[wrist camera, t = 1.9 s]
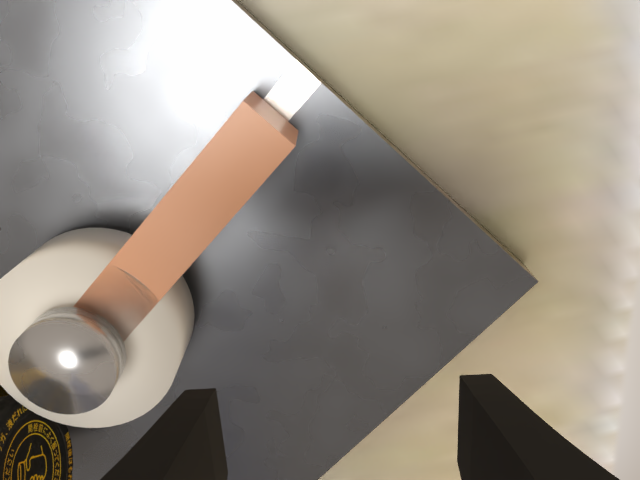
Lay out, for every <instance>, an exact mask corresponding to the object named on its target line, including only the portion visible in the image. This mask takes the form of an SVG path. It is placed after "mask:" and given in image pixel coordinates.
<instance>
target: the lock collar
mask: <svg viewBox="0 0 640 480" xmlns="http://www.w3.org/2000/svg"><path fill="white" fill-rule="evenodd" d="M297 136H298V130H297V129H296V128H295V127H294V126H293V125H292V124H290V123H289V122H288V121H287V120H286V119H285V118H284V117H282V116H281V115H280V114H279V113H278V112H277V111H276V110H274V109H273V108H272V107H271V106H270V105H269V104H268V103H267V102H265V101H264V100H263V99H262V98H261V97H260V96H259V95H257V94H256V93H255V92H254V91H252V92H251V93H250V94H249V95H248V96H247V97H246V98H245V99H244V100H243V101H242V103H241V104H240V105H239V106H238V108H237V109H236V110H235V111H234V112H233V114H232V115H231V116H230V117H229V118H228V120H227V121H226V122H225V123H224V124H223V126H222V127H221V128H220V129H219V131H218V132H217V133H216V134H215V135H214V137H213V138H212V139H211V140H210V141H209V143H208V144H207V145H206V146H205V148H204V149H203V150H202V151H201V152H200V154H199V155H198V156H197V157H196V158H195V160H194V161H193V162H192V163H191V164H190V166H189V167H188V168H187V169H186V171H185V172H184V173H183V174H182V175H181V177H180V178H179V179H178V180H177V181H176V183H175V184H174V185H173V186H172V187H171V189H170V190H169V191H168V192H167V194H166V195H165V196H164V197H163V198H162V200H161V201H160V202H159V203H158V204H157V206H156V207H155V208H154V209H153V211H152V212H151V213H150V214H149V215H148V217H147V218H146V219H145V220H144V221H143V223H142V224H141V225H140V226H139V227H138V229H137V230H136V231H135V232H134V234H133V235H132V234H129V233H127V232H123V231H119V230H115V229H108V228H82V229H76V230H72V231H68V232H65V233H62V234H60V235H58V236H55V237H54V238H52V239H50V240H49V241H47V242H46V243H44V244H43V245H42V246H41V247H39V248H38V249H37V250H36V251H34V252H33V253H32V254H31V255H29V256H28V257H27V258H26V259H24V260H23V261H22V262H21V263H19V264H18V265H17V266H16V267H14V268H13V269H12V270H11V271H9V272H8V273H7V274H6V275H5V276H3V277H2V278H1V279H0V385H1V386H2V387H3V388H4V389H5V390H6V392H7V393H8V394H10V395H11V396H12V397H13V398H14V399H15V400H16V401H17V402H19V403H20V404H22V405H23V406H24V407H26V408H27V409H29V410H31V411H32V412H34V413H36V414H38V415H40V416H42V417H44V418H47V419H49V420H52V421H55V422H58V423H61V424H65V425H70V426H74V427H84V428H102V427H111V426H115V425H120V424H123V423H126V422H129V421H132V420H134V419H136V418H138V417H140V416H142V415H144V414H145V413H147V412H148V411H150V410H151V409H152V408H153V407H155V406H156V405H157V404H158V403H159V402H160V401H161V400H162V398H163V397H164V396H165V395H166V393H167V392H168V390H169V388H170V387H171V385H172V383H173V380H174V378H175V375H176V373H177V370H178V368H179V366H180V363H181V361H182V358H183V356H184V353H185V351H186V348H187V346H188V343H189V341H190V338H191V336H192V331H193V327H194V304H193V300H192V296H191V293H190V290H189V287H188V285H187V283H186V281H185V279H184V277H183V274H184V272H185V271H186V270H187V269H188V268H189V267H190V266H191V265H192V263H193V262H194V261H195V260H196V259H197V258H198V257H199V255H200V254H201V253H202V252H203V251H204V250H205V249H206V247H207V246H208V245H209V244H210V243H211V242H212V241H213V240H214V238H215V237H216V236H217V235H218V234H219V233H220V232H221V230H222V229H223V228H224V227H225V226H226V225H227V224H228V222H229V221H230V220H231V219H232V218H233V217H234V216H235V214H236V213H237V212H238V211H239V210H240V209H241V208H242V207H243V205H244V204H245V203H246V202H247V201H248V200H249V199H250V197H251V196H252V195H253V194H254V193H255V192H256V191H257V189H258V188H259V187H260V186H261V185H262V184H263V183H264V182H265V180H266V179H267V178H268V177H269V176H270V175H271V174H272V172H273V171H274V170H275V169H276V168H277V167H278V166H279V164H280V163H281V162H282V161H283V160H284V159H285V158H286V156H287V155H288V154H289V153H290V152H291V151H292V150H293V149H294V147H295V146H296V141H297ZM60 307H77V308H82V309H86V310H89V311H92V312H94V313H96V314H98V315H100V316H101V317H103V318H105V319H106V320H107V321H108V322H110V323H111V324H112V325H113V326H114V327H115V329H116V330H117V331H118V333H119V334H120V336H121V338H122V340H123V342H124V345H125V349H126V364H125V368H124V371H123V373H122V375H121V376H120V378H119V380H118V382H117V383H116V385H115V387H114V389H113V391H112V392H111V394H110V396H109V397H108V398H107V400H106V401H105V402H104V403H103V404H101V405H100V406H99V407H97V408H95V409H93V410H91V411H88V412H85V413H81V414H73V415H72V414H59V413H54V412H51V411H47V410H45V409H43V408H40V407H39V406H37V405H35V404H33V403H32V402H31V401H29V400H28V399H27V398H26V397H25V396H23V395H22V393H21V392H20V391H19V390H18V389H17V387H16V386H15V384H14V382H13V380H12V378H11V375H10V372H9V366H8V359H9V353H10V349H11V347H12V345H13V343H14V342H15V341H16V339H17V338H18V337H19V336H20V335H21V334H22V333H23V332H24V331H25V330H26V329H27V328H28V327H29V326H30V325H31V323H32V322H33V321H34V320H35V319H36V318H37V317H39V316H40V315H41V314H43V313H45V312H47V311H49V310H52V309H55V308H60Z"/></svg>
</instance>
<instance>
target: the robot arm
mask: <svg viewBox="0 0 640 480" xmlns="http://www.w3.org/2000/svg"><path fill="white" fill-rule="evenodd" d="M457 462H458V466H459V471H460V475H461V479H462V480H619V479H618V478H617V477H615V476H614V475H612V474H611V473H610V472H608V471H607V470H606V469H604V468H603V467H602V466H600V465H599V464H597V463H596V462H595V461H593V460H592V459H591V458H589V457H588V456H587V455H585V454H584V453H583V452H581V451H580V450H579V449H578V448H576V447H575V446H574V445H573V444H571V443H570V442H569V441H568V440H566V439H565V438H564V437H563V436H561V435H560V434H559V433H558V432H557V431H555V430H554V429H553V428H552V427H551V426H549V425H548V424H547V423H546V422H545V421H544V420H542V419H541V418H540V417H539V416H538V415H537V414H536V413H534V412H533V411H532V410H531V409H530V408H529V407H528V406H527V405H525V404H524V403H523V402H522V401H521V400H520V399H519V398H518V397H517V396H515V395H514V394H513V393H512V392H511V391H510V390H509V389H508V388H507V387H506V386H504V385H503V384H502V383H501V382H500V381H499V380H498V379H497V378H496V377H494V376H493V375H492V374H481V375H461V376H460V385H459V420H458V456H457ZM227 477H228V468H227V461H226V454H225V447H224V440H223V433H222V426H221V419H220V412H219V405H218V398H217V391H216V388H209V389H189V390H184V392H183V393H182V394H181V395H180V396H179V397H178V398H177V399H176V400H175V401H174V402H173V403H172V404H171V405H170V407H169V408H168V409H167V410H166V411H165V412H164V413H163V414H162V415H161V417H160V418H159V419H158V420H157V421H156V422H155V423H154V424H153V425H152V427H151V428H150V429H149V430H148V431H147V432H146V433H145V434H144V435H143V436H142V437H141V439H140V440H139V441H138V442H137V443H136V444H135V445H134V446H133V447H132V448H131V449H130V450H129V451H128V452H127V453H126V454H125V455H124V456H123V458H122V459H121V460H120V461H119V462H118V463H117V464H116V465H115V466H114V467H113V468H112V469H110V470H109V471H108V472H107V473H106V474H105V475H104V476H103V477H102V478H101V479H100V480H227Z"/></svg>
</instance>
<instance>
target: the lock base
mask: <svg viewBox="0 0 640 480" xmlns="http://www.w3.org/2000/svg"><path fill="white" fill-rule="evenodd" d="M252 91H254V92H255V93H256V94H257V95H259V96H260V97H261V98H262V99H263V100H264V101H265V102H267V103H268V104H269V105H270V106H271V107H272V108H273V109H274V110H276V111H277V112H278V113H279V114H280V115H281V116H282V117H284V118H285V119H286V120H287V121H288V122H289V123H290V124H292V125H293V126H294V127H295V128H296V129H297V130H298V136H297V141H296V146H295V147H294V149H293V150H292V151H291V152H290V153H289V154H288V155H287V156H286V158H285V159H284V160H283V161H282V162H281V163H280V164H279V166H278V167H277V168H276V169H275V170H274V171H273V172H272V174H271V175H270V176H269V177H268V178H267V179H266V180H265V182H264V183H263V184H262V185H261V186H260V187H259V188H258V189H257V191H256V192H255V193H254V194H253V195H252V196H251V197H250V199H249V200H248V201H247V202H246V203H245V204H244V205H243V207H242V208H241V209H240V210H239V211H238V212H237V213H236V214H235V216H234V217H233V218H232V219H231V220H230V221H229V222H228V224H227V225H226V226H225V227H224V228H223V229H222V230H221V232H220V233H219V234H218V235H217V236H216V237H215V238H214V240H213V241H212V242H211V243H210V244H209V245H208V246H207V247H206V249H205V250H204V251H203V252H202V253H201V254H200V255H199V257H198V258H197V259H196V260H195V261H194V262H193V263H192V265H191V266H190V267H189V268H188V269H187V270H186V271H185V272H184V274H183V277H184V279H185V281H186V283H187V285H188V287H189V290H190V293H191V296H192V300H193V304H194V327H193V331H192V336H191V338H190V341H189V343H188V346H187V348H186V351H185V353H184V356H183V358H182V361H181V363H180V366H179V368H178V370H177V373H176V375H175V378H174V380H173V383H172V385H171V387H170V388H169V390H168V392H167V393H166V395H165V396H164V397H163V398H162V400H161V401H160V402H159V403H158V404H157V405H156V406H155V407H153V408H152V409H151V410H150V411H148V412H147V413H145V414H144V415H142V416H140V417H138V418H136V419H134V420H132V421H129V422H126V423H123V424H120V425H115V426H111V427H102V428H84V427H74V426H70V425H67V427H68V430H69V434H70V438H71V443H72V454H73V468H72V480H100V479H101V478H102V477H103V476H104V475H105V474H106V473H107V472H108V471H109V470H110V469H112V468H113V467H114V466H115V465H116V464H117V463H118V462H119V461H120V460H121V459H122V458H123V456H124V455H125V454H126V453H127V452H128V451H129V450H130V449H131V448H132V447H133V446H134V445H135V444H136V443H137V442H138V441H139V440H140V439H141V437H142V436H143V435H144V434H145V433H146V432H147V431H148V430H149V429H150V428H151V427H152V425H153V424H154V423H155V422H156V421H157V420H158V419H159V418H160V417H161V415H162V414H163V413H164V412H165V411H166V410H167V409H168V408H169V407H170V405H171V404H172V403H173V402H174V401H175V400H176V399H177V398H178V397H179V396H180V395H181V394H182V393H183V392H184V390H189V389H209V388H216V391H217V398H218V405H219V412H220V419H221V426H222V433H223V440H224V447H225V454H226V461H227V468H228V477H227V480H318V479H319V478H320V477H321V476H322V475H323V474H324V473H326V472H327V471H328V470H329V469H330V468H331V467H332V466H333V465H335V464H336V463H337V462H338V461H339V460H340V459H341V458H342V457H343V456H345V455H346V454H347V453H348V452H349V451H350V450H351V449H352V448H353V447H355V446H356V445H357V444H358V443H359V442H360V441H361V440H362V439H363V438H365V437H366V436H367V435H368V434H369V433H370V432H371V431H372V430H374V429H375V428H376V427H377V426H378V425H379V424H380V423H381V422H382V421H384V420H385V419H386V418H387V417H388V416H389V415H390V414H391V413H392V412H394V411H395V410H396V409H397V408H398V407H399V406H400V405H401V404H403V403H404V402H405V401H406V400H407V399H408V398H409V397H410V396H411V395H413V394H414V393H415V392H416V391H417V390H418V389H419V388H420V387H421V386H423V385H424V384H425V383H426V382H427V381H428V380H429V379H430V378H432V377H433V376H434V375H435V374H436V373H437V372H438V371H439V370H440V369H442V368H443V367H444V366H445V365H446V364H447V363H448V362H449V361H450V360H452V359H453V358H454V357H455V356H456V355H457V354H458V353H459V352H461V351H462V350H463V349H464V348H465V347H466V346H467V345H468V344H469V343H471V342H472V341H473V340H474V339H475V338H476V337H477V336H478V335H479V334H481V333H482V332H483V331H484V330H485V329H486V328H487V327H488V326H489V325H491V324H492V323H493V322H494V321H495V320H496V319H497V318H498V317H500V316H501V315H502V314H503V313H504V312H505V311H506V310H507V309H508V308H510V307H511V306H512V305H513V304H514V303H515V302H516V301H517V300H518V299H520V298H521V297H522V296H523V295H524V294H525V293H526V292H527V291H529V290H530V289H531V288H532V287H533V286H534V285H535V284H536V283H537V282H538V281H537V279H536V278H535V277H534V276H533V275H532V274H531V272H530V271H529V270H528V269H527V268H526V266H525V265H524V264H523V263H522V262H521V261H519V260H518V259H517V258H516V257H515V256H514V255H513V254H512V253H511V252H510V251H509V250H507V249H506V248H505V247H504V246H503V245H502V244H501V243H500V242H499V241H498V240H497V239H496V238H494V237H493V236H492V235H491V234H490V233H489V232H488V231H487V230H486V229H485V228H484V227H482V226H481V225H480V224H479V223H478V222H477V221H476V220H475V219H474V218H473V217H472V216H470V215H469V214H468V213H467V212H466V211H465V210H464V209H463V208H462V207H461V206H460V205H458V204H457V203H456V202H455V201H454V200H453V199H452V198H451V197H450V196H449V195H448V194H447V193H445V192H444V191H443V190H442V189H441V188H440V187H439V186H438V185H437V184H436V183H435V182H433V181H432V180H431V179H430V178H429V177H428V176H427V175H426V174H425V173H424V172H423V171H421V170H420V169H419V168H418V167H417V166H416V165H415V164H414V163H413V162H412V161H411V160H410V159H408V158H407V157H406V156H405V155H404V154H403V153H402V152H401V151H400V150H399V149H398V148H396V147H395V146H394V145H393V144H392V143H391V142H390V141H389V140H388V139H387V138H386V137H384V136H383V135H382V134H381V133H380V132H379V131H378V130H377V129H376V128H375V127H374V126H373V125H371V124H370V123H369V122H368V121H367V120H366V119H365V118H364V117H363V116H362V115H361V114H359V113H358V112H357V111H356V110H355V109H354V108H353V107H352V106H351V105H350V104H349V103H347V102H346V101H345V100H344V99H343V98H342V97H341V96H340V95H339V94H338V93H337V92H335V91H334V90H333V89H332V88H331V87H330V86H329V85H328V84H327V83H326V82H325V81H324V80H322V79H321V78H320V77H319V76H318V75H317V74H316V73H315V72H314V71H313V70H312V69H310V68H309V67H308V66H307V65H306V64H305V63H304V62H303V61H302V60H301V59H300V58H298V57H297V56H296V55H295V54H294V53H293V52H292V51H291V50H290V49H289V48H288V47H287V46H285V45H284V44H283V43H282V42H281V41H280V40H279V39H278V38H277V37H276V36H275V35H273V34H272V33H271V32H270V31H269V30H268V29H267V28H266V27H265V26H264V25H263V24H261V23H260V22H259V21H258V20H257V19H256V18H255V17H254V16H253V15H252V14H251V13H250V12H248V11H247V10H246V9H245V8H244V7H243V6H242V5H241V4H240V3H239V2H238V1H236V0H0V279H1V278H2V277H3V276H5V275H6V274H7V273H8V272H9V271H11V270H12V269H13V268H14V267H16V266H17V265H18V264H19V263H21V262H22V261H23V260H24V259H26V258H27V257H28V256H29V255H31V254H32V253H33V252H34V251H36V250H37V249H38V248H39V247H41V246H42V245H43V244H44V243H46V242H47V241H49V240H50V239H52V238H54V237H55V236H58V235H60V234H62V233H65V232H68V231H72V230H76V229H82V228H108V229H115V230H119V231H123V232H127V233H129V234H132V235H133V234H134V232H135V231H136V230H137V229H138V227H139V226H140V225H141V224H142V223H143V221H144V220H145V219H146V218H147V217H148V215H149V214H150V213H151V212H152V211H153V209H154V208H155V207H156V206H157V204H158V203H159V202H160V201H161V200H162V198H163V197H164V196H165V195H166V194H167V192H168V191H169V190H170V189H171V187H172V186H173V185H174V184H175V183H176V181H177V180H178V179H179V178H180V177H181V175H182V174H183V173H184V172H185V171H186V169H187V168H188V167H189V166H190V164H191V163H192V162H193V161H194V160H195V158H196V157H197V156H198V155H199V154H200V152H201V151H202V150H203V149H204V148H205V146H206V145H207V144H208V143H209V141H210V140H211V139H212V138H213V137H214V135H215V134H216V133H217V132H218V131H219V129H220V128H221V127H222V126H223V124H224V123H225V122H226V121H227V120H228V118H229V117H230V116H231V115H232V114H233V112H234V111H235V110H236V109H237V108H238V106H239V105H240V104H241V103H242V101H243V100H244V99H245V98H246V97H247V96H248V95H249V94H250V93H251V92H252ZM125 364H126V349H125V345H124V342H123V340H122V338H121V336H120V334H119V333H118V331H117V330H116V329H115V327H114V326H113V325H112V324H111V323H110V322H108V321H107V320H106V319H105V318H103V317H101V316H100V315H98V314H96V313H94V312H92V311H89V310H86V309H82V308H77V307H60V308H55V309H52V310H49V311H47V312H45V313H43V314H41V315H40V316H39V317H37V318H36V319H35V320H34V321H33V322H32V323H31V325H30V326H29V327H28V328H27V329H26V330H25V331H24V332H23V333H22V334H21V335H20V336H19V337H18V338H17V339H16V341H15V342H14V343H13V345H12V347H11V349H10V353H9V359H8V366H9V372H10V375H11V378H12V380H13V382H14V384H15V386H16V387H17V389H18V390H19V391H20V392H21V393H22V395H23V396H25V397H26V398H27V399H28V400H29V401H31V402H32V403H33V404H35V405H37V406H39V407H40V408H43V409H45V410H47V411H51V412H54V413H59V414H72V415H73V414H81V413H85V412H88V411H91V410H93V409H95V408H97V407H99V406H100V405H101V404H103V403H104V402H105V401H106V400H107V398H108V397H109V396H110V394H111V392H112V391H113V389H114V387H115V385H116V383H117V382H118V380H119V378H120V376H121V375H122V373H123V371H124V368H125ZM7 395H10V394H8V393H7V392H6V390H5V389H4V388H3V387H2V386H1V385H0V397H1V396H7Z"/></svg>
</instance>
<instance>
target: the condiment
mask: <svg viewBox="0 0 640 480" xmlns="http://www.w3.org/2000/svg"><path fill="white" fill-rule="evenodd" d="M72 468H73V454H72V443H71V438H70V434H69V430H68V427H67V425H65V424H61V423H58V422H55V421H52V420H49V419H47V418H44V417H42V416H40V415H38V414H36V413H34V412H32V411H31V410H29V409H27V408H26V407H24V406H23V405H22V404H20V403H19V402H17V401H16V400H15V399H14V398H13V397H12V396H11V395H7V396H1V397H0V480H72Z"/></svg>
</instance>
